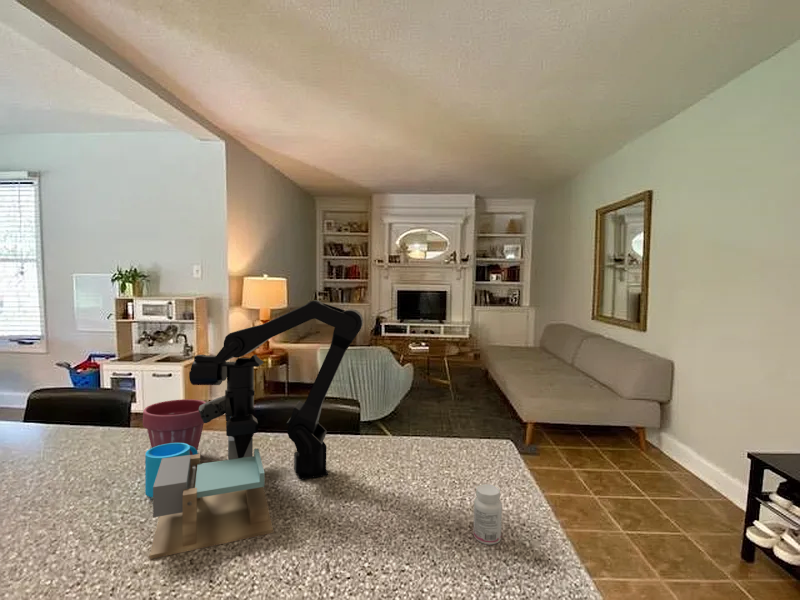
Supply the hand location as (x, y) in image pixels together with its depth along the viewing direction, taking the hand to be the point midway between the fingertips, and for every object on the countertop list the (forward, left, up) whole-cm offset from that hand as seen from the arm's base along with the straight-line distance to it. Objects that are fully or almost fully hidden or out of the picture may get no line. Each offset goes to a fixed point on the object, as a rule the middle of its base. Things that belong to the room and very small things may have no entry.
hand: (240, 453), depth 95 cm
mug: (+13, +1, -5) cm, 14 cm away
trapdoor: (+6, +18, +1) cm, 19 cm away
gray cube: (0, 0, -1) cm, 1 cm away
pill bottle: (-38, +42, -5) cm, 57 cm away
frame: (+5, +18, -4) cm, 19 cm away
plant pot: (+14, -14, -5) cm, 20 cm away
